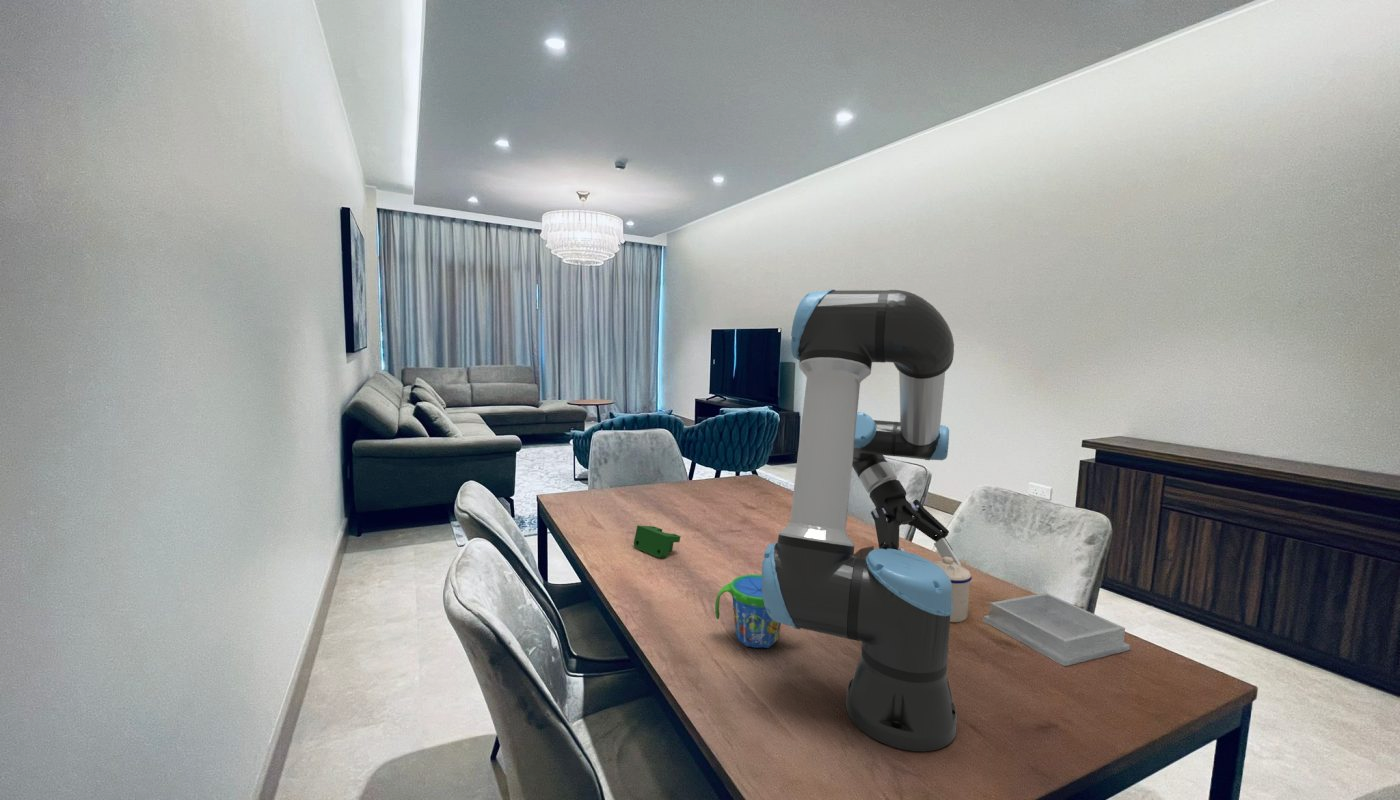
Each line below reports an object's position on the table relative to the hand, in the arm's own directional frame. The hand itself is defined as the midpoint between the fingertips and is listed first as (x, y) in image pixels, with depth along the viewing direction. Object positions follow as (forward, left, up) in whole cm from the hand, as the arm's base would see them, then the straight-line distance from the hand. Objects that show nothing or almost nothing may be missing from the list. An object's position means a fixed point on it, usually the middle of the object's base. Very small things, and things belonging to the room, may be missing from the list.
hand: (936, 574), depth 118 cm
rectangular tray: (+13, -16, -7) cm, 22 cm away
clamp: (-46, +47, -7) cm, 66 cm away
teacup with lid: (-1, -1, -7) cm, 7 cm away
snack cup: (-42, 0, -7) cm, 42 cm away
